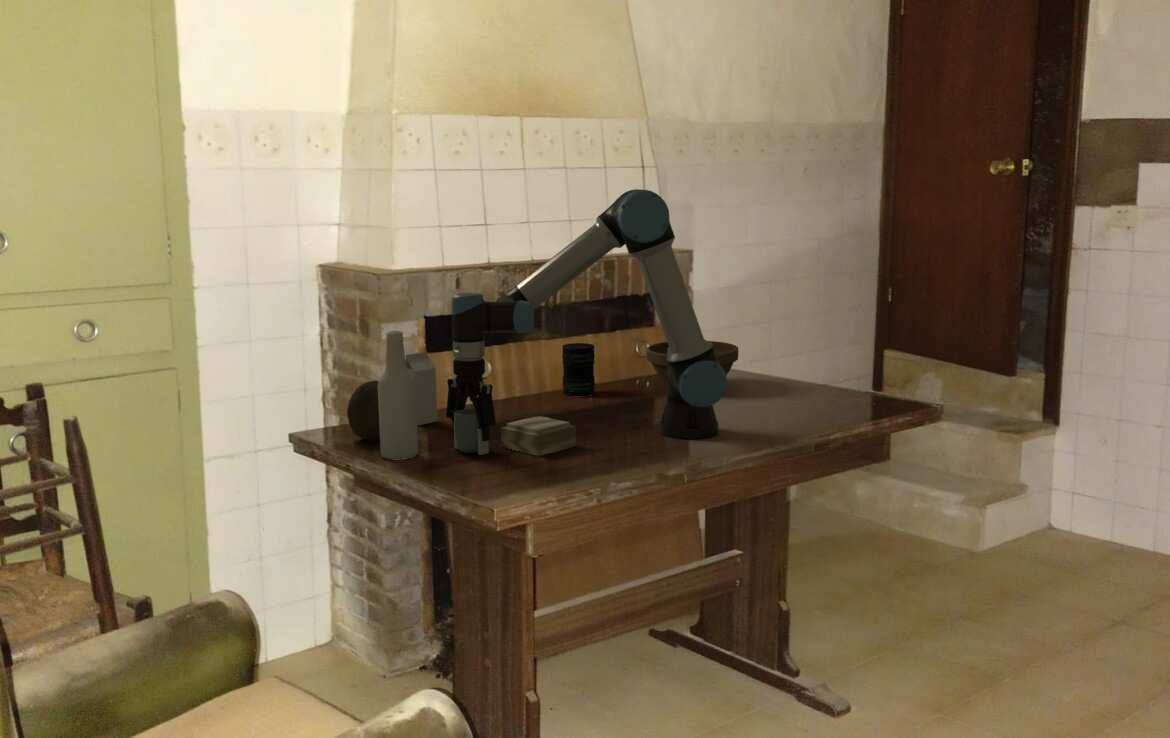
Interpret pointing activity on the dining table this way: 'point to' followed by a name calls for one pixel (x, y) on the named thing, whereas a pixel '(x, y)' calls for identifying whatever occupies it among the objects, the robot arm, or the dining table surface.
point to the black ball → (365, 411)
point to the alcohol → (397, 403)
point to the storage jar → (578, 369)
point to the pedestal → (538, 435)
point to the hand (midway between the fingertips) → (471, 450)
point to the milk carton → (423, 386)
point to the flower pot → (723, 350)
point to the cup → (466, 430)
